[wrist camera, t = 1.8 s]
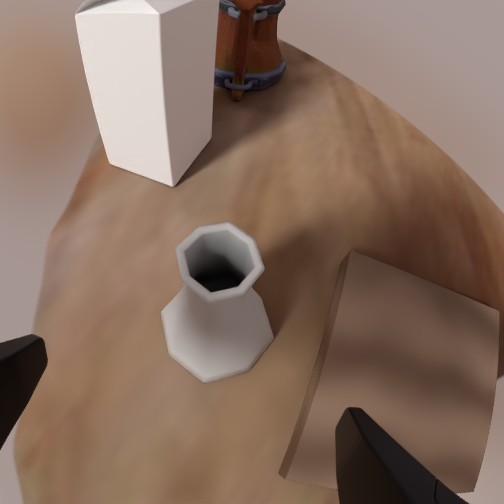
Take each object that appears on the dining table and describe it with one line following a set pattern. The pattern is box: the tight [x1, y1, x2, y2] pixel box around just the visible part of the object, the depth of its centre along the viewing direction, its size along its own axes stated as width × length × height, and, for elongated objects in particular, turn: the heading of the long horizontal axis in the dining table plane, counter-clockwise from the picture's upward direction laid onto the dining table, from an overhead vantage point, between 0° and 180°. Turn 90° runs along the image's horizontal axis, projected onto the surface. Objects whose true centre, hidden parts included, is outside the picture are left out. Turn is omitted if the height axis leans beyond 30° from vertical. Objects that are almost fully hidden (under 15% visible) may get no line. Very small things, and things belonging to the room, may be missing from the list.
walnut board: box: [279, 250, 499, 493], centre depth 18 cm, size 16×16×2 cm
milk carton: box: [75, 0, 220, 187], centre depth 19 cm, size 7×7×19 cm
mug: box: [214, 0, 286, 101], centre depth 28 cm, size 18×12×15 cm, turn 177°
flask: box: [161, 221, 274, 383], centre depth 16 cm, size 7×7×10 cm
